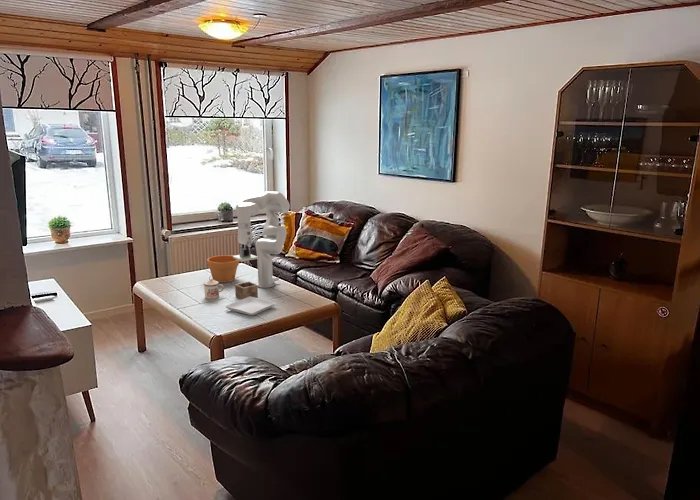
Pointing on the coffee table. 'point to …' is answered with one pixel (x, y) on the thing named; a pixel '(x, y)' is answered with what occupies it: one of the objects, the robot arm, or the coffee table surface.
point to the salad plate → (250, 305)
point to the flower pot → (223, 267)
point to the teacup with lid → (212, 289)
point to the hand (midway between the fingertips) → (245, 254)
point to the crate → (246, 290)
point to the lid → (245, 258)
